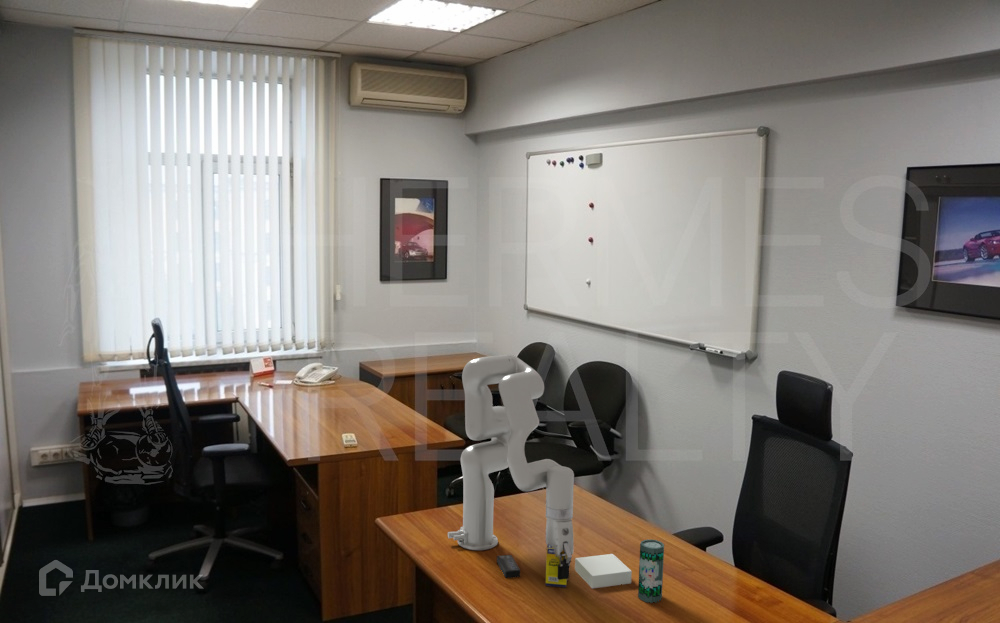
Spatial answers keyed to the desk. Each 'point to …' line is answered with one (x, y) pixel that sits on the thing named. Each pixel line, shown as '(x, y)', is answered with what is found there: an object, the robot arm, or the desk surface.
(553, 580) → the supplement box
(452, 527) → the desk surface
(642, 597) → the can
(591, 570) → the white block
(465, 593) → the desk surface
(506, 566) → the multiport hub
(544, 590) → the desk surface
